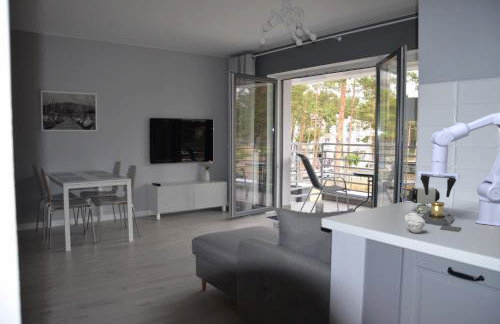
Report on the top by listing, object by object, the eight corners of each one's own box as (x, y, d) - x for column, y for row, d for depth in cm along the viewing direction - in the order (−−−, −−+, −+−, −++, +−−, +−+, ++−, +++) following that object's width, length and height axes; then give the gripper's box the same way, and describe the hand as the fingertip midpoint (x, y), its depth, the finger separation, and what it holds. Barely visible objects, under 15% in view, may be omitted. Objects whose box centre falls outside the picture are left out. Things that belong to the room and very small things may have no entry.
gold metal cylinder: (444, 221, 156) (445, 202, 155) (442, 223, 152) (443, 204, 151) (431, 219, 159) (432, 200, 158) (428, 221, 154) (429, 202, 154)
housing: (426, 216, 164) (427, 210, 163) (453, 219, 158) (453, 213, 158) (419, 222, 152) (419, 216, 152) (447, 226, 147) (448, 220, 146)
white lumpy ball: (409, 229, 142) (409, 210, 141) (428, 233, 137) (429, 213, 136) (400, 232, 138) (401, 212, 137) (420, 236, 133) (421, 215, 132)
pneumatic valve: (439, 214, 168) (440, 186, 167) (411, 214, 168) (413, 186, 168) (433, 211, 174) (434, 185, 173) (406, 211, 174) (408, 184, 173)
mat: (461, 228, 144) (461, 227, 143) (458, 231, 139) (458, 230, 139) (443, 226, 147) (443, 225, 147) (440, 229, 142) (440, 228, 142)
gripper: (417, 160, 155) (415, 194, 156) (458, 163, 146) (455, 199, 147) (421, 160, 160) (419, 192, 161) (461, 162, 152) (458, 197, 153)
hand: (437, 195), depth 154 cm, fingers open, 7 cm apart
